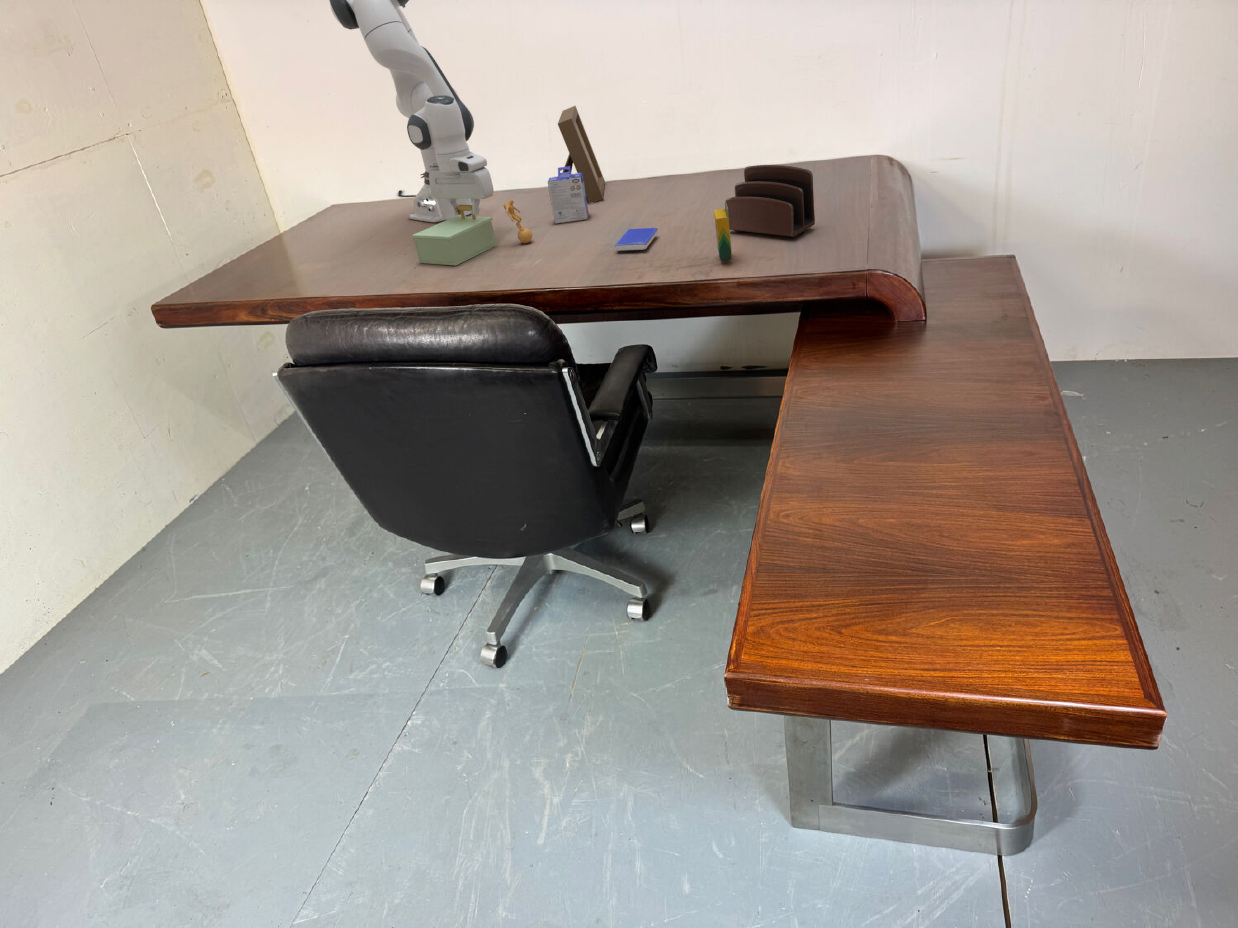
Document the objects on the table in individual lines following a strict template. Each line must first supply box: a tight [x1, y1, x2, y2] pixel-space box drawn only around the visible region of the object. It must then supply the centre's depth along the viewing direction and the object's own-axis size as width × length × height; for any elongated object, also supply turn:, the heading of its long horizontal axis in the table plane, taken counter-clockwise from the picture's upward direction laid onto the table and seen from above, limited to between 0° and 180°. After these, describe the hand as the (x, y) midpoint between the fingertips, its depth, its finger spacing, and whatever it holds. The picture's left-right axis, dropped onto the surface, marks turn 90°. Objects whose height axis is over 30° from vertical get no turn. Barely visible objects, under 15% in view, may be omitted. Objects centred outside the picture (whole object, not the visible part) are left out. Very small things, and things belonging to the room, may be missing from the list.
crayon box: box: [713, 200, 733, 261], centre depth 193 cm, size 7×3×12 cm, turn 178°
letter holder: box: [724, 164, 816, 238], centre depth 205 cm, size 10×20×14 cm, turn 47°
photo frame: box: [557, 105, 606, 204], centre depth 260 cm, size 15×22×25 cm
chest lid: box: [412, 205, 494, 240], centre depth 225 cm, size 17×14×5 cm
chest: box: [412, 221, 497, 266], centre depth 228 cm, size 17×14×7 cm
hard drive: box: [614, 227, 659, 251], centre depth 214 cm, size 2×8×12 cm
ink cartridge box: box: [547, 166, 590, 224], centre depth 240 cm, size 10×6×14 cm, turn 89°
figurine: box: [503, 199, 533, 244], centre depth 226 cm, size 8×6×12 cm
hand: (467, 214), depth 229 cm, fingers closed on chest lid, 5 cm apart
